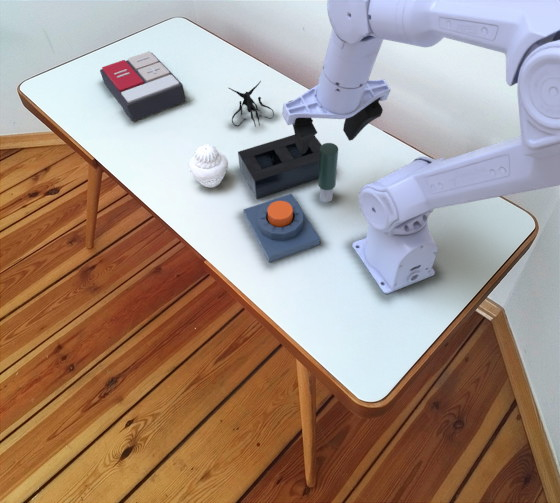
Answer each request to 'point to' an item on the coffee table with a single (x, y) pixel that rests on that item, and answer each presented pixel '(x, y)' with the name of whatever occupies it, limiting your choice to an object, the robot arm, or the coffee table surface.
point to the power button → (280, 213)
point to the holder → (279, 165)
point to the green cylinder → (327, 171)
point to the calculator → (143, 85)
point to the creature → (249, 104)
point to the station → (281, 230)
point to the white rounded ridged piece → (208, 166)
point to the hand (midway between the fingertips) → (324, 141)
